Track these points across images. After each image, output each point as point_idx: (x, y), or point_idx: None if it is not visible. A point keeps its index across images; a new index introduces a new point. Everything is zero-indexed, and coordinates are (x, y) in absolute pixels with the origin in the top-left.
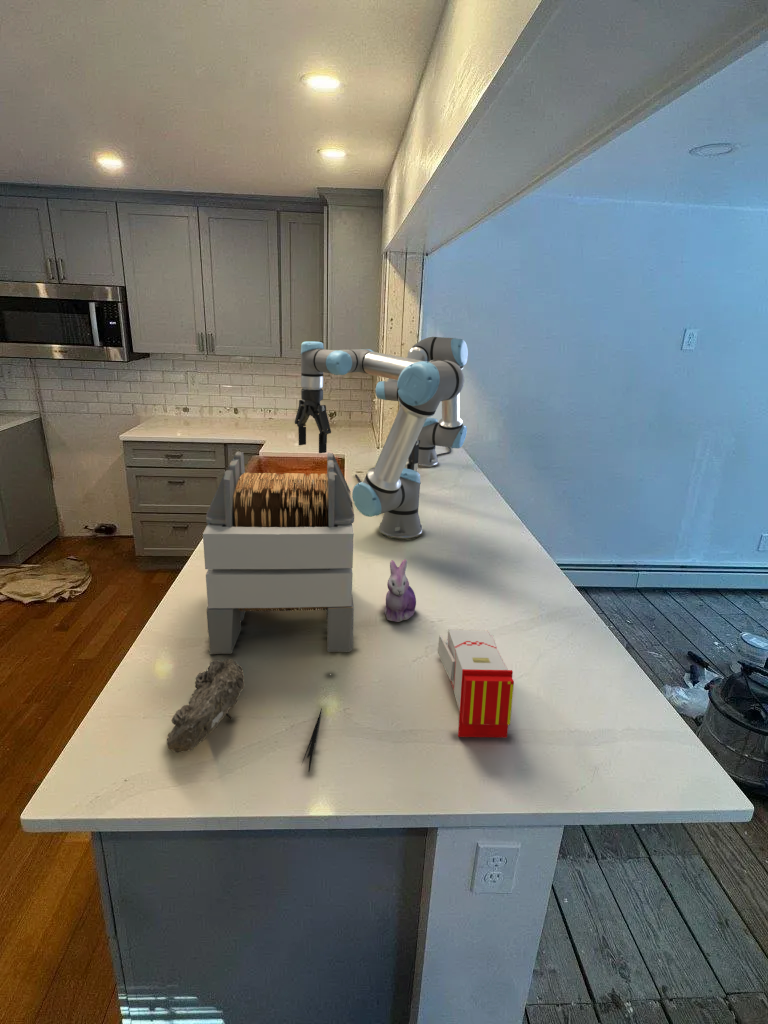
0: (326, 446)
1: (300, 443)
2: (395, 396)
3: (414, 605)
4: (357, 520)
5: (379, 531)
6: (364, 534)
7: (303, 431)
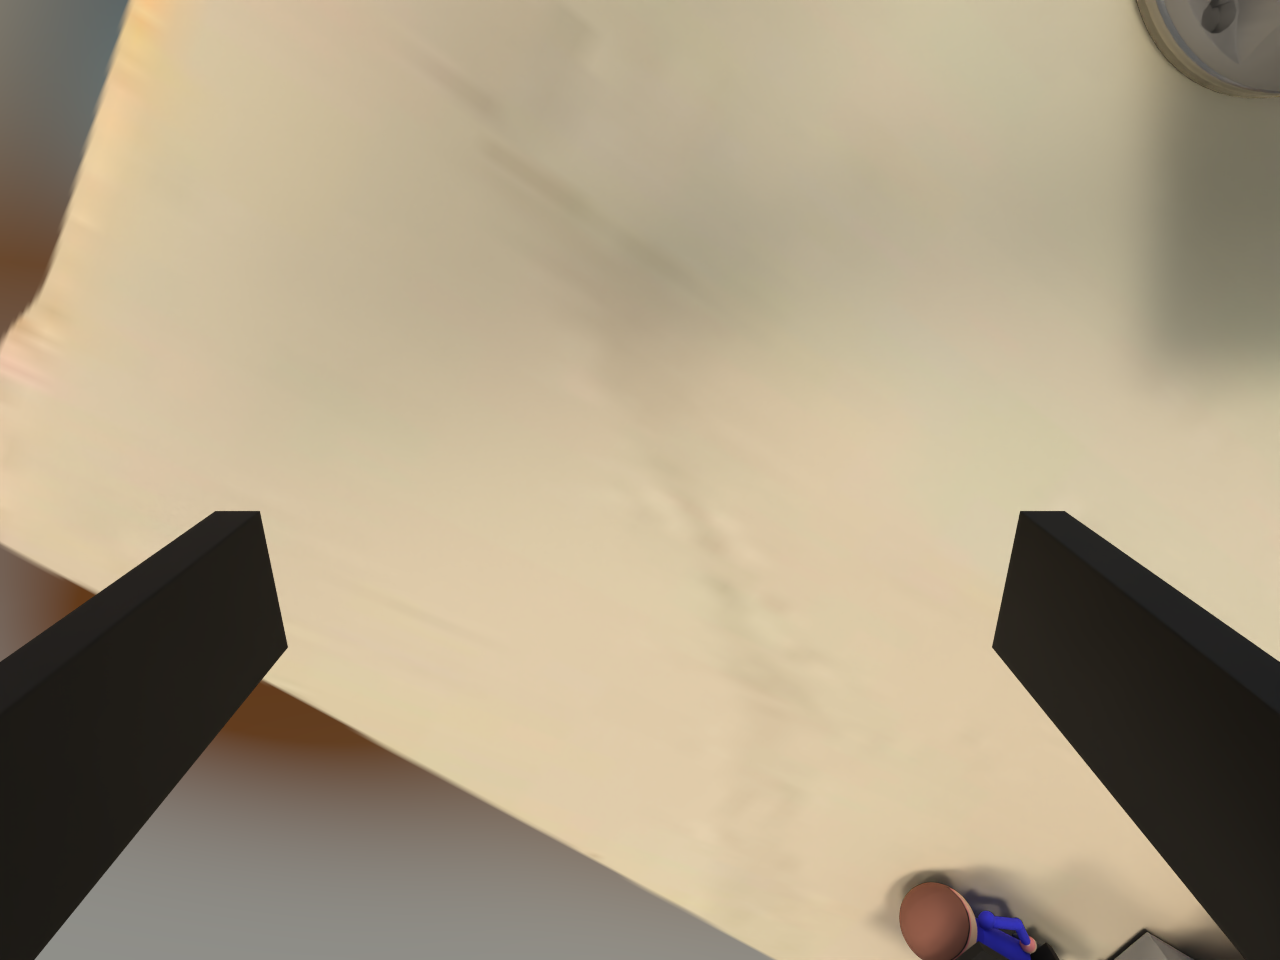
0: (1150, 573)
1: (266, 651)
2: None
3: None
4: (877, 56)
5: (1190, 74)
6: (1115, 197)
7: (50, 781)
